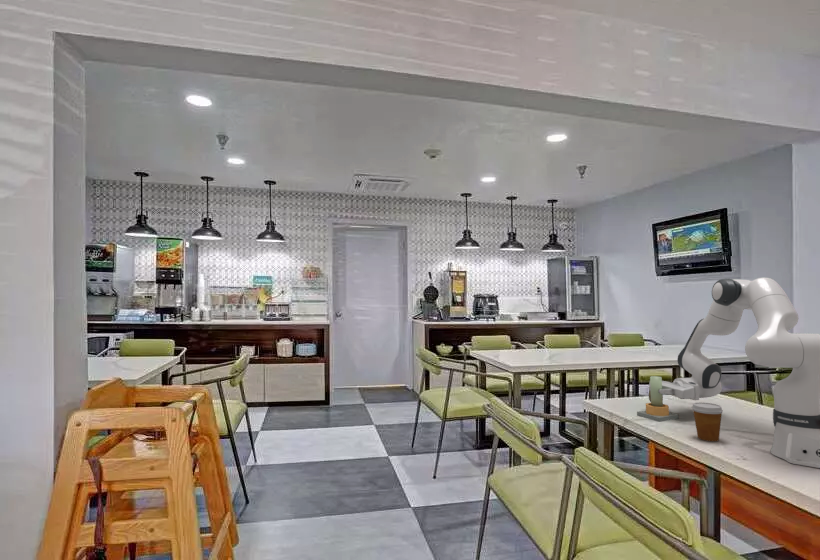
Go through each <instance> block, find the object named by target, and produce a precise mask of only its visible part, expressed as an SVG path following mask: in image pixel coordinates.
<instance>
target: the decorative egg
mask: <svg viewBox="0 0 820 560" xmlns="http://www.w3.org/2000/svg"><path fill="white" fill-rule="evenodd" d="M662 397H663V398H664V394H662ZM648 399H649V403H651V391H650V390H649V389H648Z"/></svg>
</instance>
